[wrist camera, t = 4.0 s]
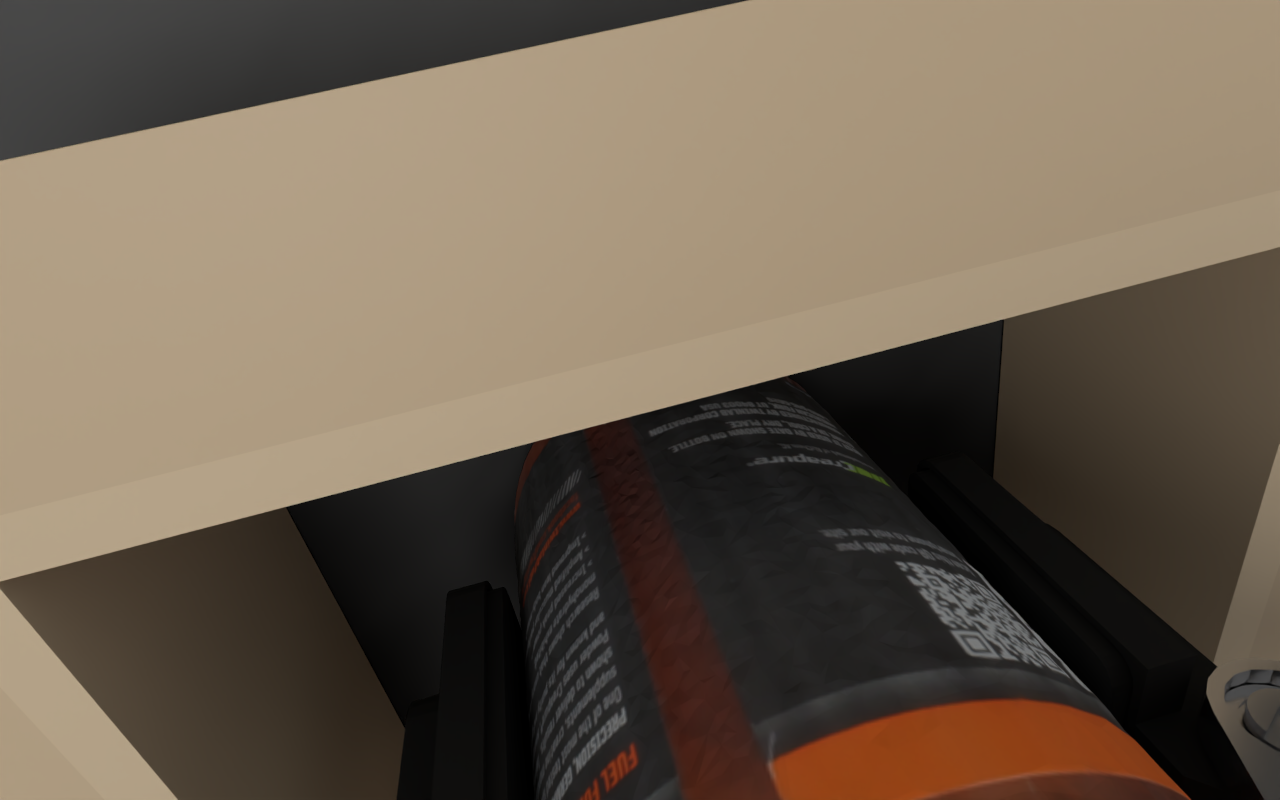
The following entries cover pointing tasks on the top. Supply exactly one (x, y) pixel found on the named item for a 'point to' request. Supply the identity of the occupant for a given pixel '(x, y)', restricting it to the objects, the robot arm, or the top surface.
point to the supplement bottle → (779, 627)
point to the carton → (610, 330)
